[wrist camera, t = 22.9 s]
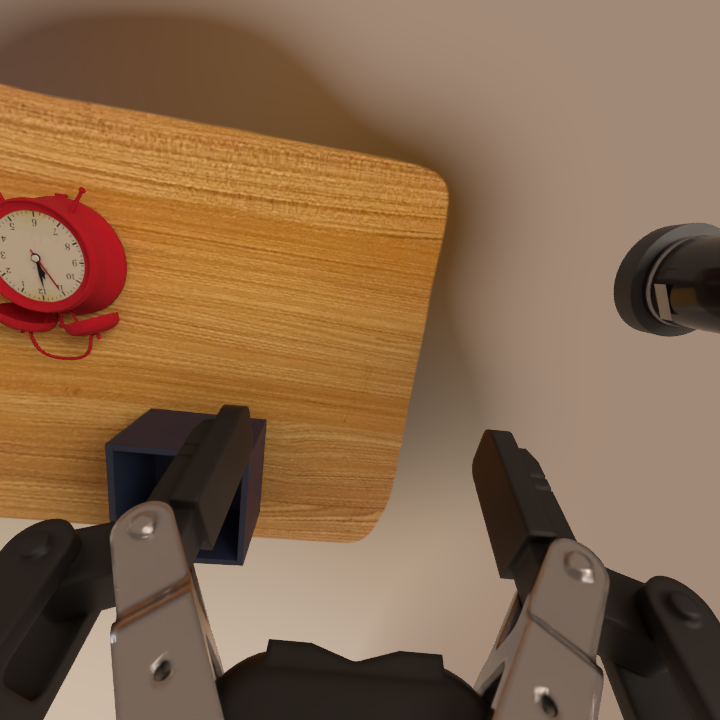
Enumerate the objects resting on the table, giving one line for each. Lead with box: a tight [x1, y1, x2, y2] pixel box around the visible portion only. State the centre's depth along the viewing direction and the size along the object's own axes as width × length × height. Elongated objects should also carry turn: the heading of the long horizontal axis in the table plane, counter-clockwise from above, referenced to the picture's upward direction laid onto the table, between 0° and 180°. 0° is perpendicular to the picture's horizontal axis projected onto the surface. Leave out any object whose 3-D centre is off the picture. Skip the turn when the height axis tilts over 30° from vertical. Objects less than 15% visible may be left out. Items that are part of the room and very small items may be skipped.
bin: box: [105, 409, 267, 565], centre depth 35 cm, size 12×12×8 cm
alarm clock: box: [0, 187, 127, 360], centre depth 30 cm, size 10×6×15 cm
